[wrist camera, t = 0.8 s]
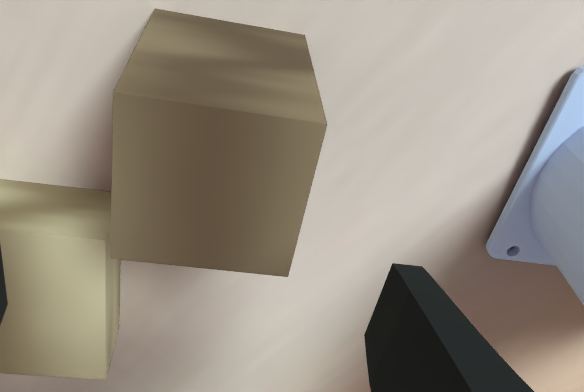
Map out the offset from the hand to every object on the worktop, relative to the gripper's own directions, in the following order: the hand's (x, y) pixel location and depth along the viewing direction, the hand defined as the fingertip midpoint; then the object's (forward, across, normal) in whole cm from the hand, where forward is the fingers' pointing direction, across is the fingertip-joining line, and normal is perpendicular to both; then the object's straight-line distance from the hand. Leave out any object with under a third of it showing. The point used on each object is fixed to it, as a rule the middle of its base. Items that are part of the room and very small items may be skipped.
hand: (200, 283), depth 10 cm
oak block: (+9, +6, +8) cm, 14 cm away
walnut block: (+9, 0, 0) cm, 9 cm away
